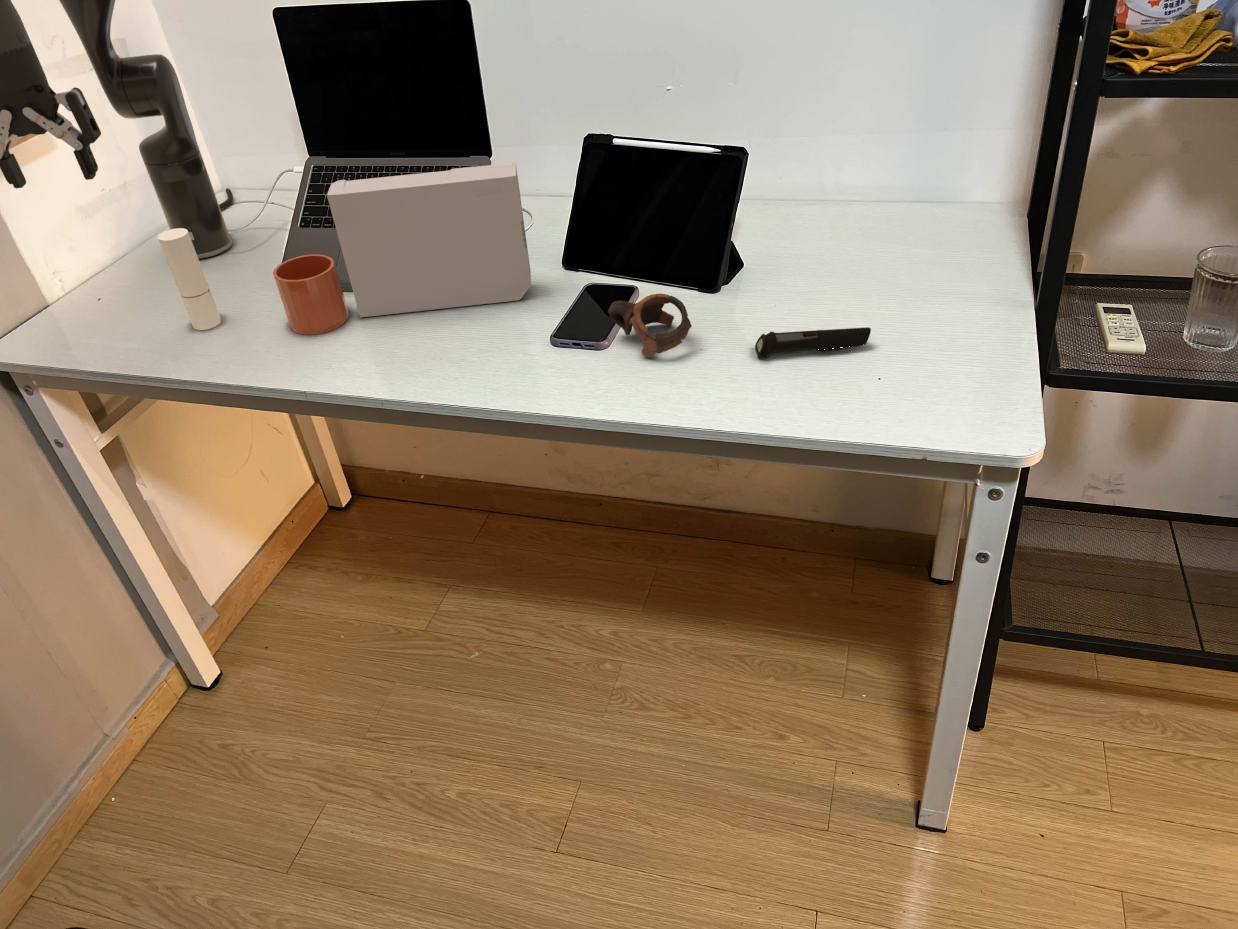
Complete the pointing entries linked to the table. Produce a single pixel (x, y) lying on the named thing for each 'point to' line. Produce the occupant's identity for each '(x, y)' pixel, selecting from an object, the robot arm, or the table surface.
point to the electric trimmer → (811, 341)
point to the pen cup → (311, 294)
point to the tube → (189, 278)
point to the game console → (433, 239)
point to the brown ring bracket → (651, 321)
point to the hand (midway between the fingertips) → (56, 181)
